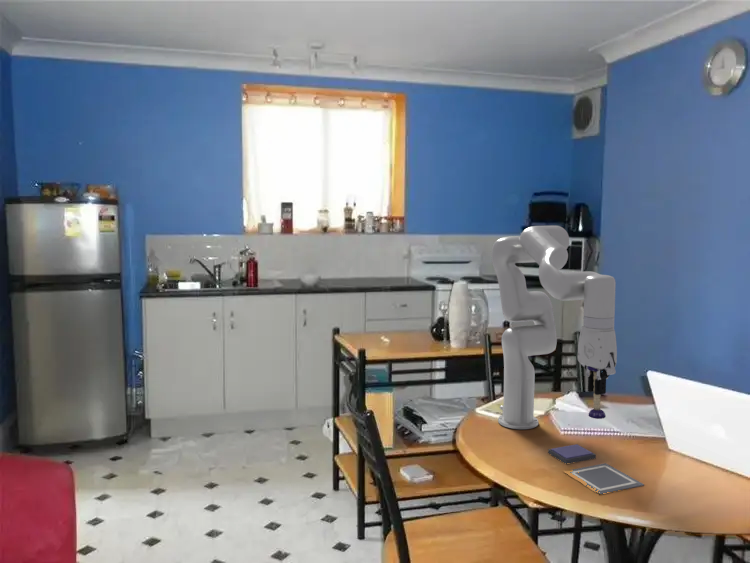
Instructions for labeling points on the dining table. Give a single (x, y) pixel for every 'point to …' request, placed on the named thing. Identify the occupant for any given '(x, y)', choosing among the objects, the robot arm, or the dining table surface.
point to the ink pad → (572, 454)
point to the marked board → (605, 478)
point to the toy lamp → (596, 400)
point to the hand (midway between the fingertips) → (596, 392)
